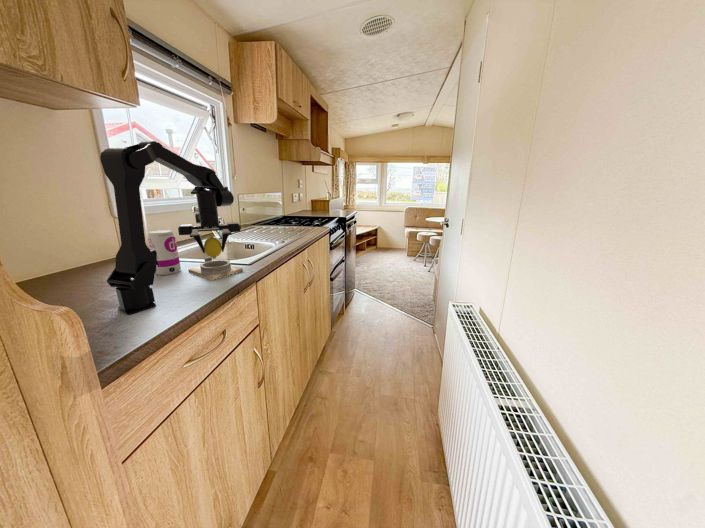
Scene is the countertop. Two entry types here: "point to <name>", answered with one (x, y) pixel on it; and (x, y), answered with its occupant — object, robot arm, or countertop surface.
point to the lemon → (212, 247)
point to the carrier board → (198, 272)
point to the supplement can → (164, 251)
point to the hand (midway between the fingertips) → (213, 252)
